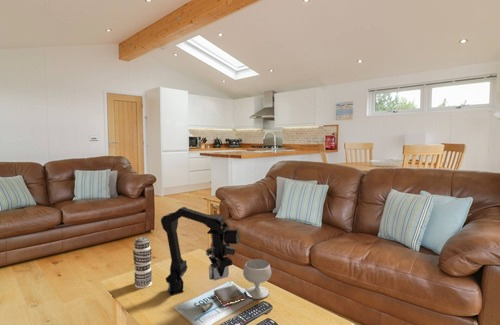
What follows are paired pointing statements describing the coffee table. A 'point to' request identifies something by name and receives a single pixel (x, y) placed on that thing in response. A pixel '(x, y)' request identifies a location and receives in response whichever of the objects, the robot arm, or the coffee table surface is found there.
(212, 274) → the block
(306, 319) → the coffee table surface
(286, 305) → the coffee table surface
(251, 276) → the chalice
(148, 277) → the grey striped cylinder
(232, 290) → the plinth
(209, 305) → the loose bolt
